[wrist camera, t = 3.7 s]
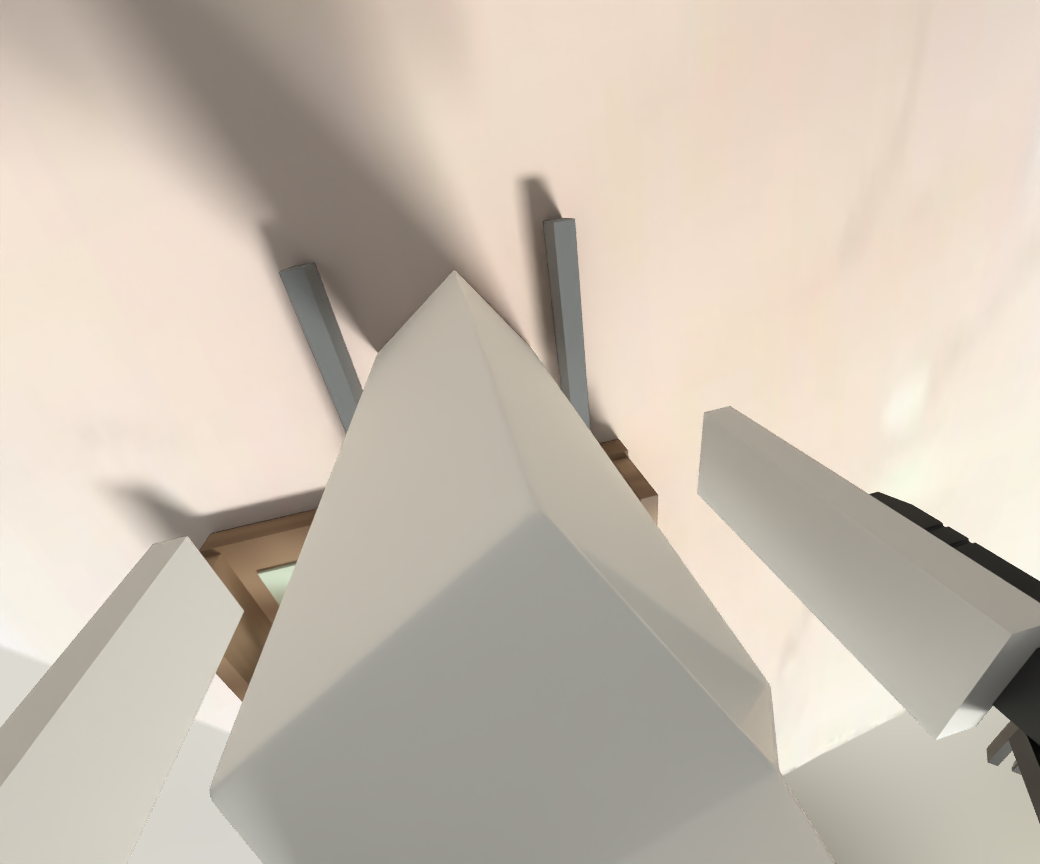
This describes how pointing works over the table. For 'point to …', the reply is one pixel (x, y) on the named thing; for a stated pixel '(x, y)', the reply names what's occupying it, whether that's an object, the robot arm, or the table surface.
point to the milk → (497, 645)
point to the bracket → (339, 367)
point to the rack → (272, 558)
